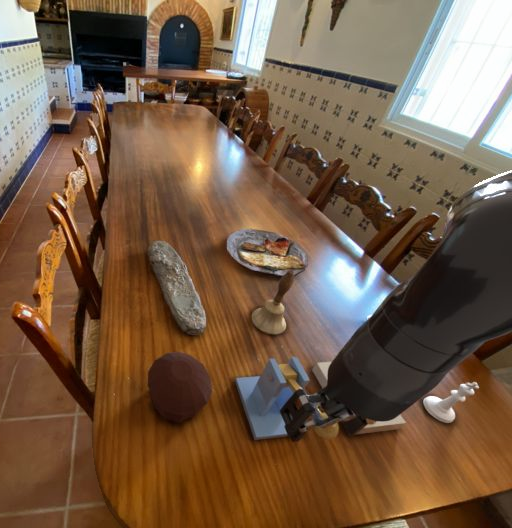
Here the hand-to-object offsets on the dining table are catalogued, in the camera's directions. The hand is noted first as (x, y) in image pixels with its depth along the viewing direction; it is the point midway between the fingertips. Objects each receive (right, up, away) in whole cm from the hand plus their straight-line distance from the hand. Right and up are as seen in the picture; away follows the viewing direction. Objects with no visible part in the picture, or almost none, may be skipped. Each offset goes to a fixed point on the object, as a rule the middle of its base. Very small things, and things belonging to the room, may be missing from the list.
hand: (319, 430), depth 41 cm
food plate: (+11, +26, +53) cm, 60 cm away
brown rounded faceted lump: (-19, -3, +15) cm, 25 cm away
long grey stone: (-19, +17, +39) cm, 47 cm away
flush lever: (-1, +1, +4) cm, 4 cm away
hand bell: (+4, +9, +32) cm, 33 cm away
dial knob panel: (+16, -3, +18) cm, 24 cm away
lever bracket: (-2, -4, +15) cm, 16 cm away
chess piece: (+32, -6, +17) cm, 37 cm away
